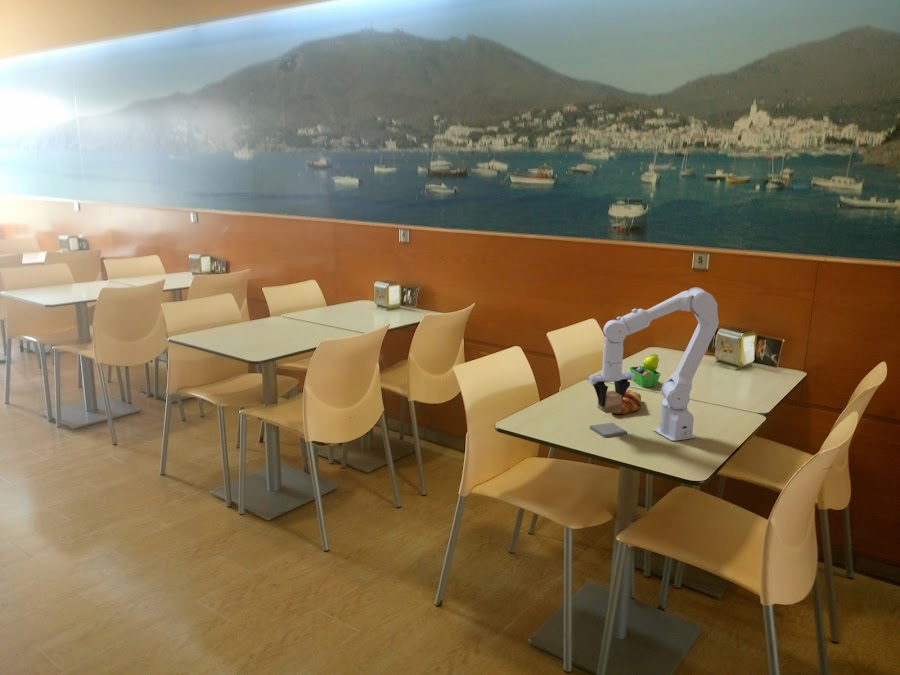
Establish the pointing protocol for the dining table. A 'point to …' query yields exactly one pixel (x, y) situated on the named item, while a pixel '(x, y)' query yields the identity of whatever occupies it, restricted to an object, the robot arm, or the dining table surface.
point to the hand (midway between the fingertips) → (609, 404)
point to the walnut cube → (611, 402)
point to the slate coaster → (608, 429)
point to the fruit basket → (647, 372)
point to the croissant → (630, 402)
